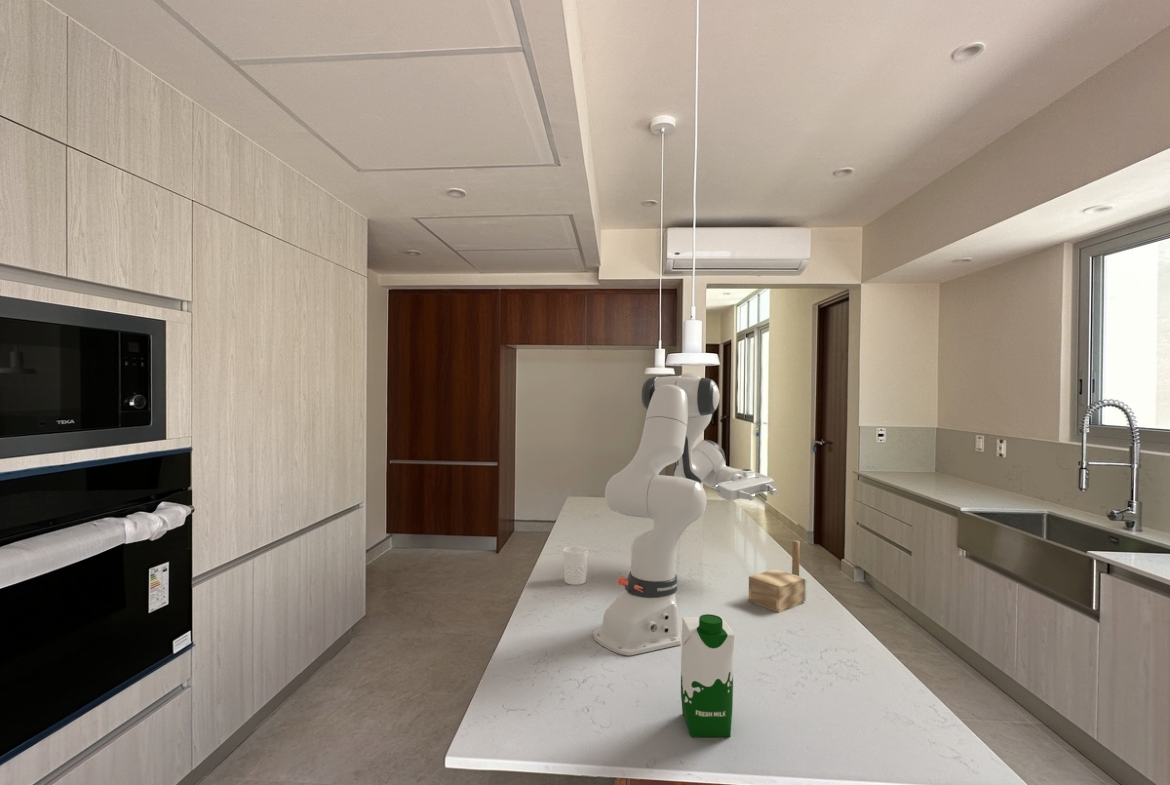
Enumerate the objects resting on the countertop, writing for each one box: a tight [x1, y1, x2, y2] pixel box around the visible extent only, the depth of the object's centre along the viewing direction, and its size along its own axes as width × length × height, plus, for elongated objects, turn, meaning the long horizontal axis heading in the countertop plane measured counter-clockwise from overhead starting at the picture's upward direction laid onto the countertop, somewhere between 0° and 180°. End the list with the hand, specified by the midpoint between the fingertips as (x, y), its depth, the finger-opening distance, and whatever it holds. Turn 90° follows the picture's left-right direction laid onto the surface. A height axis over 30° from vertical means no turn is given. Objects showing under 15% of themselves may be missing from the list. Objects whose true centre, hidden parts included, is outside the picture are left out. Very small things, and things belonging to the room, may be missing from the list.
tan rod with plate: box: [774, 539, 807, 602], centre depth 161 cm, size 15×10×16 cm, turn 127°
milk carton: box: [680, 613, 735, 738], centre depth 100 cm, size 9×9×20 cm
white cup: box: [562, 545, 589, 586], centre depth 173 cm, size 8×8×10 cm
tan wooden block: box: [748, 568, 805, 613], centre depth 159 cm, size 12×10×7 cm
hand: (764, 495), depth 172 cm, fingers open, 8 cm apart
